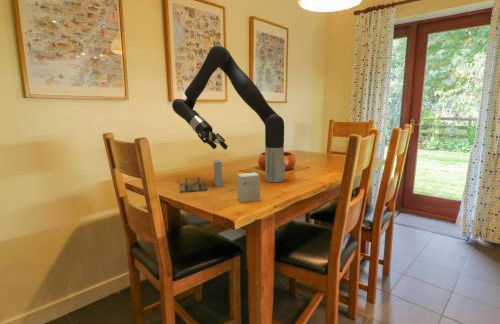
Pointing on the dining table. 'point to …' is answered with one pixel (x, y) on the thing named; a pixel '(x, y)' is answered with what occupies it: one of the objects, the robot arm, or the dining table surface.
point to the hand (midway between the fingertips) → (221, 147)
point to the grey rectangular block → (218, 173)
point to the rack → (192, 186)
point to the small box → (248, 187)
